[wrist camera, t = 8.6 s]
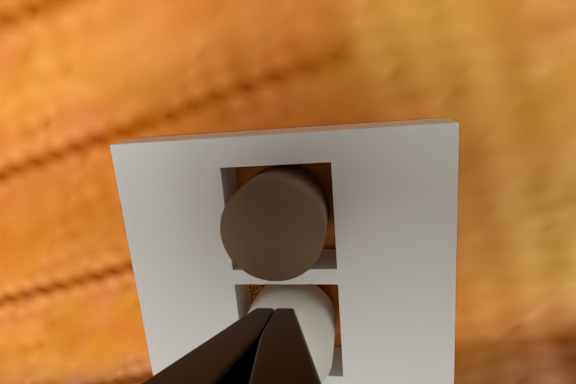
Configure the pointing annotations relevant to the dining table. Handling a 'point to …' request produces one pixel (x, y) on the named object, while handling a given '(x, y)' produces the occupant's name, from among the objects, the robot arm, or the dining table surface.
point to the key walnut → (276, 224)
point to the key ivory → (306, 317)
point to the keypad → (332, 262)
